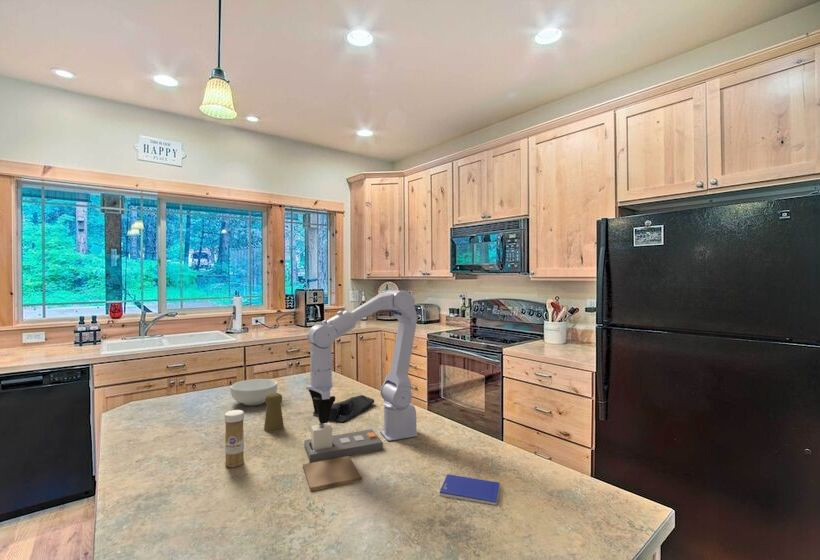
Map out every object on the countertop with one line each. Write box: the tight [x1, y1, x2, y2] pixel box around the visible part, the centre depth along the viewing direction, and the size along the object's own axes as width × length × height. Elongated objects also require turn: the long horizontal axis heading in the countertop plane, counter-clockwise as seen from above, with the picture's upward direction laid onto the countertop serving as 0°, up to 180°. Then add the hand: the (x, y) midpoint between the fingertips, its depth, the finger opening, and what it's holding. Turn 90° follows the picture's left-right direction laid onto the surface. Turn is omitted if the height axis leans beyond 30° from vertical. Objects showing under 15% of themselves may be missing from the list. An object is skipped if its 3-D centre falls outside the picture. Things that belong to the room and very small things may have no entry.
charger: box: [310, 422, 333, 450], centre depth 110 cm, size 5×4×8 cm
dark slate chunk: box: [312, 394, 375, 423], centre depth 144 cm, size 15×22×5 cm
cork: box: [263, 392, 285, 433], centre depth 127 cm, size 6×6×11 cm
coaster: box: [302, 455, 363, 492], centre depth 98 cm, size 12×12×1 cm
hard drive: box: [439, 473, 501, 506], centre depth 91 cm, size 2×8×12 cm
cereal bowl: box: [230, 378, 278, 406], centre depth 153 cm, size 17×17×7 cm
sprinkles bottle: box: [224, 409, 245, 468], centre depth 104 cm, size 5×5×14 cm
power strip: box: [304, 429, 384, 463], centre depth 113 cm, size 20×10×3 cm, turn 113°
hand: (321, 417), depth 110 cm, fingers open, 7 cm apart
